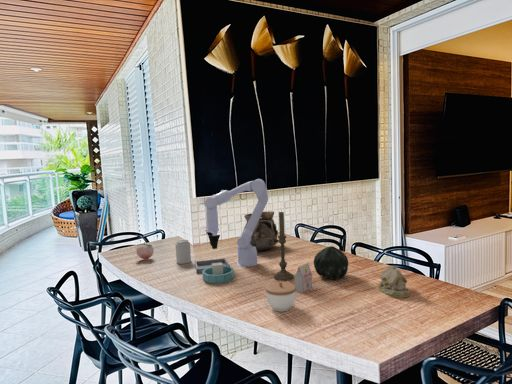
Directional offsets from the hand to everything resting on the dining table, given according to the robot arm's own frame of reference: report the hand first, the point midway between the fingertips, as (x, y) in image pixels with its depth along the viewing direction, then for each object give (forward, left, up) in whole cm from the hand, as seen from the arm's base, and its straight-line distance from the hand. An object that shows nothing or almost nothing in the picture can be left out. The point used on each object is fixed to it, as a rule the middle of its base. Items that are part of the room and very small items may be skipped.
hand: (213, 247), depth 181 cm
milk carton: (-30, +47, -10) cm, 57 cm away
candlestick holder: (-27, +30, -10) cm, 41 cm away
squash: (-47, +37, -10) cm, 61 cm away
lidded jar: (-16, +61, -10) cm, 64 cm away
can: (+15, -10, -10) cm, 20 cm away
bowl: (+1, +21, -9) cm, 23 cm away
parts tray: (+2, +5, -9) cm, 11 cm away
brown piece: (-30, -23, -10) cm, 39 cm away
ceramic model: (-62, +61, -10) cm, 87 cm away
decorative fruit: (+35, -25, -10) cm, 44 cm away
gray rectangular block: (+1, +21, -9) cm, 23 cm away
